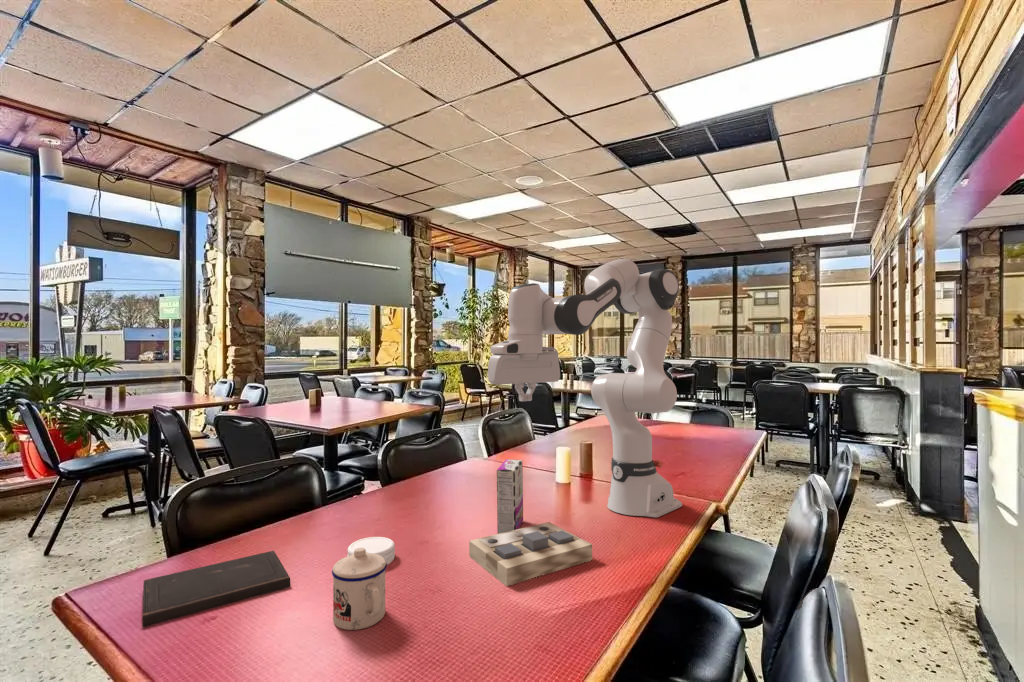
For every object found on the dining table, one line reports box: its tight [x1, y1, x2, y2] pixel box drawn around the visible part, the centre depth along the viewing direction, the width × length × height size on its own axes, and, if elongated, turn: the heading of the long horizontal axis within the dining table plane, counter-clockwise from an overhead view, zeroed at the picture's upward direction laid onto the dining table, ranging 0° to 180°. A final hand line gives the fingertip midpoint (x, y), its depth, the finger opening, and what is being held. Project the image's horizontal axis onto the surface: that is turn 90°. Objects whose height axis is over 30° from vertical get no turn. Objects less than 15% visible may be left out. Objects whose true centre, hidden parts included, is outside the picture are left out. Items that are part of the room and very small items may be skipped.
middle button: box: [523, 531, 548, 552], centre depth 106 cm, size 4×4×3 cm
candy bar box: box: [496, 458, 524, 534], centre depth 126 cm, size 11×5×16 cm, turn 168°
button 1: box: [495, 544, 521, 560], centre depth 102 cm, size 4×4×3 cm
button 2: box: [548, 531, 573, 545], centre depth 110 cm, size 4×4×3 cm
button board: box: [468, 521, 593, 587], centre depth 108 cm, size 22×16×4 cm
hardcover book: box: [142, 550, 291, 628], centre depth 94 cm, size 16×23×2 cm
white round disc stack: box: [346, 536, 396, 566], centre depth 107 cm, size 10×10×4 cm
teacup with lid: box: [331, 548, 388, 631], centre depth 83 cm, size 12×9×12 cm
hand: (525, 401), depth 124 cm, fingers closed
